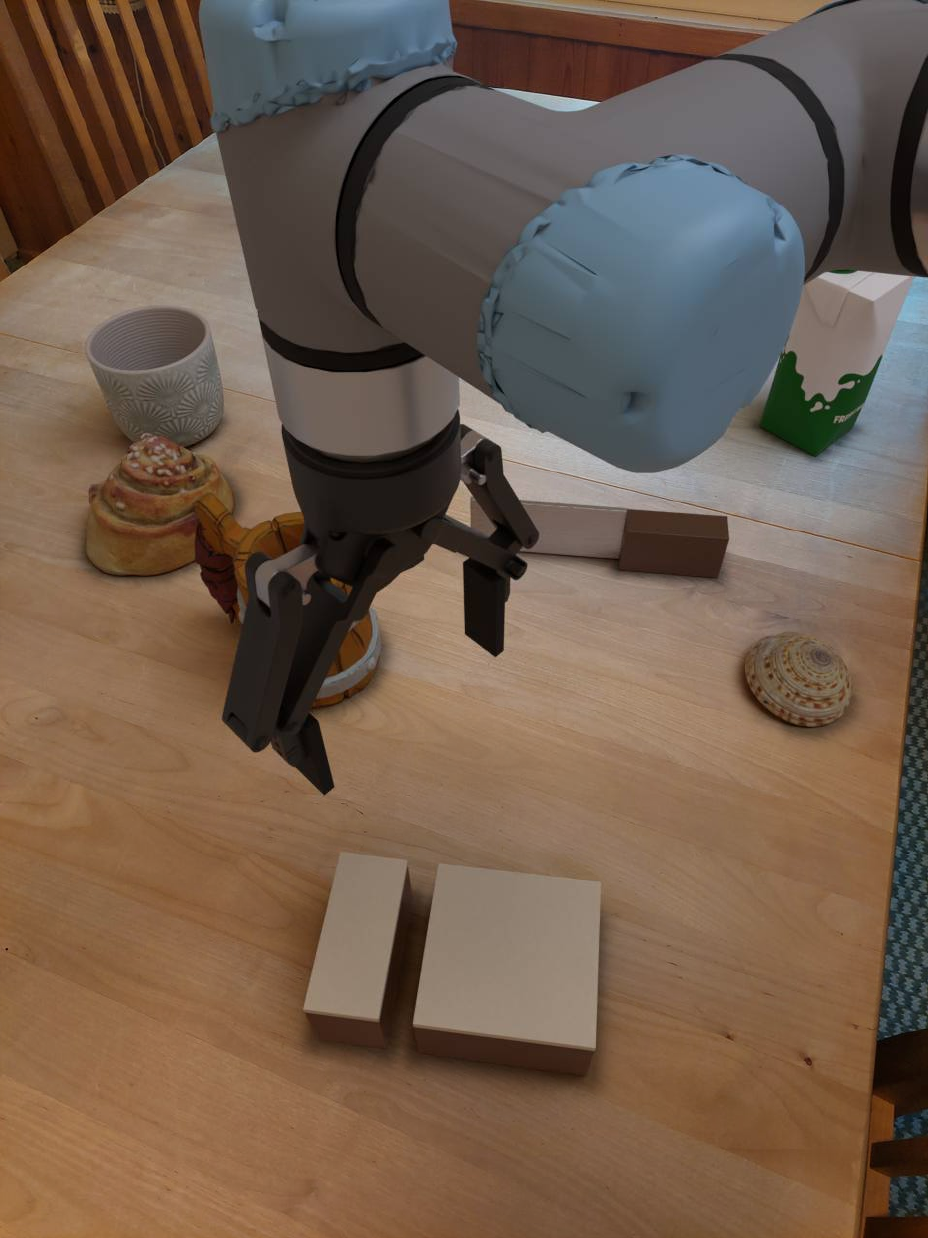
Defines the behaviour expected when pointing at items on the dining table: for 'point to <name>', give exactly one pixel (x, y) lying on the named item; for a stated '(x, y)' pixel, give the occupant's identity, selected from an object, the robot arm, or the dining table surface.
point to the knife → (625, 536)
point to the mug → (231, 545)
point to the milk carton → (832, 355)
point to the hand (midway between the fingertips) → (404, 706)
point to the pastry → (151, 508)
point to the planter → (158, 373)
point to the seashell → (799, 678)
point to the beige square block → (510, 970)
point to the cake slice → (360, 951)
